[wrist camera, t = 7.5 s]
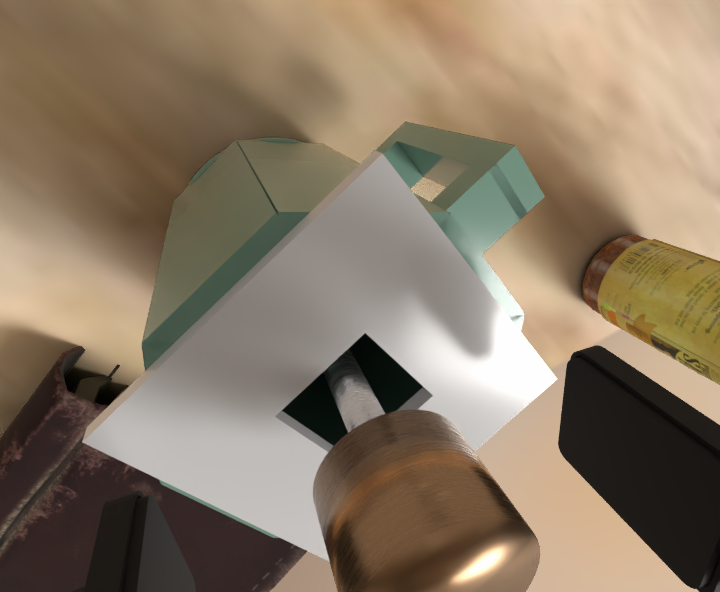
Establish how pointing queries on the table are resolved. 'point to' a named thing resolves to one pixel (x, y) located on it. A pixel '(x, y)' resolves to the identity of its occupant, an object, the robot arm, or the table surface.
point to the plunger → (413, 503)
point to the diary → (89, 493)
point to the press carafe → (322, 315)
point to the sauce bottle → (660, 298)
